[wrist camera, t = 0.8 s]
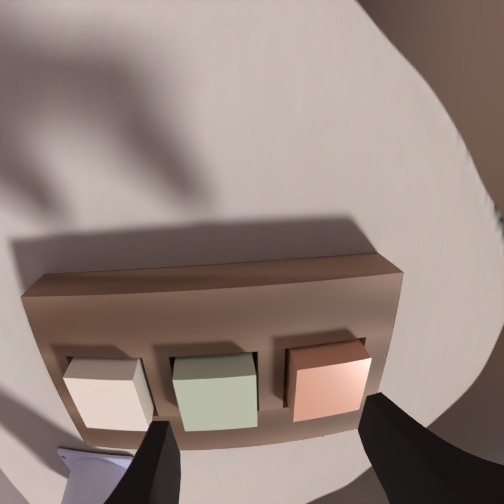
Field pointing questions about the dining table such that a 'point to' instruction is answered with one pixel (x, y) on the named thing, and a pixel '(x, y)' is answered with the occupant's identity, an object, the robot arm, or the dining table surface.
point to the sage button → (216, 391)
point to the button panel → (217, 332)
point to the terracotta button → (325, 378)
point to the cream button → (111, 392)
